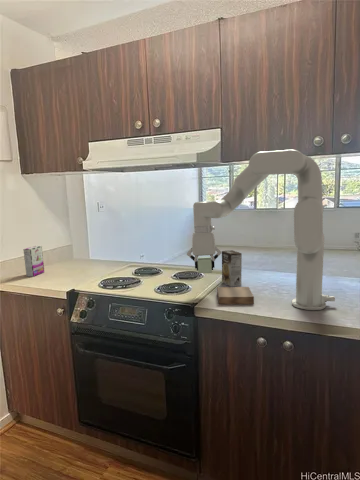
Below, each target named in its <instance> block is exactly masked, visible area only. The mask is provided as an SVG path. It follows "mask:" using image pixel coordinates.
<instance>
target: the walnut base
mask: <svg viewBox="0 0 360 480" xmlns="http://www.w3.org/2000/svg"><path fill="white" fill-rule="evenodd" d="M216 290H217V291H216V293H217V294H216V295H217V301H218V304H219V305H254V304H255V297H254V294H253V292H252V291H251V289H250V287H249V286H232V287H230V286H221V287H219V286H218V287H216Z"/></svg>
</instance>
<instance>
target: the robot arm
mask: <svg viewBox="0 0 360 480" xmlns="http://www.w3.org/2000/svg"><path fill="white" fill-rule="evenodd" d="M270 175H293V176H296V177H295V178H296V180H297V195H298V196H297V202H296V204H295V206H294V210H293V234H294V235H293V239H294V240H293V241H294V242H293V243H294V245H295V247H296V248H297V250H296V272H295V273H296V275H295V277H296V278H295V282H296V283H295V285H296V286H295V298H293V299H292V300H291V305H293V307H295V308H297V309H300V310H305V311H306V310H307V311H321V310H323V309H325V308H326V307H327V302H335V300H336V297H335V296H330V295H329V294H326V295H325V294H324V293H323V276H324V275H323V274H324V252H325V251H324V250H325V234H324V231H323V229H324V228H323V227H324V226H323V224H324V223H323V218H324V216H323V214H324V202H323V179H322V172H321V169H320V165H319V164H318V163H317V162H316V161H315V160H314V159H313V158H311V157H309V156H308V155H306V154H303V152H301V151H299V150H297V149H284V150H282V149H281V150H269V151H258V152H255V153H254V154H252V155H251V157H250V158H249V161H248V165H247V166H246V167H245V168H244V169H243V170H242V171H241V172H240V173H239V174H238V175H237V176H236V177H235V179H234V181H233V185H232V187H231V189H230V190H229V191H228V192H227V193H226V194H225V195H224V196H223V197H222V198H221V199H219V200H218V199H216V200H212V201H195V202H193V205H192V209H193V226H194V227H193V228H194V229H193V231H194V232H192V240H191V241H192V242H191V243H192V244H191V245H192V246H191V248H190V249H189V250H188V252H186V255H187V256H188V257H189V258H190V259H191V260H192V261H193V262H194V269H196V271H197V272H198V258H199V256H200V257H202V256H203V257H204V256H209V257H211V263H212V271H214V268H215V261H216V260H217V258H218V257H219V256H220V255H222V251H221V249H219V248H218V247H217V246H216V239H215V235H214V232H213V230H215V228H216V227H215V226H213V225H212V219H220V218H221V219H222V218H225V217H227V216H229V215H230V214H231V213H232V212H234V211H235V209H237V208H238V207H239V206H240V205H241V204H242V203H243V202H244V201H245V199H247V198H248V197H249V195H250V194H251V193H252V192H253V191H254V190H255V189H256V188H257V187H258V186H259V185H260V184H261V183H262V182H263V181H265V180H266V178H267V177H268V176H270ZM216 252H217V253H216ZM191 253H192V254H191Z"/></svg>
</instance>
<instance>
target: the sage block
mask: <svg viewBox="0 0 360 480" xmlns="http://www.w3.org/2000/svg"><path fill="white" fill-rule="evenodd" d="M197 261H198V271H197V273H198V274H212V273H213V270H212V263H211V256H205V257H204V256H203V257H202V256H200V257H199V256H198V259H197Z"/></svg>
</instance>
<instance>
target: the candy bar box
mask: <svg viewBox="0 0 360 480" xmlns="http://www.w3.org/2000/svg"><path fill="white" fill-rule="evenodd" d="M43 255H44V254H43V246H42V245H34V246H30V247H27V248H24V249H23V258H24V266H25V275H26V277H28V278H34V277H37V276H39V275H41V274H43V273H45V266H44V264H45V263H44V256H43Z"/></svg>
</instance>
